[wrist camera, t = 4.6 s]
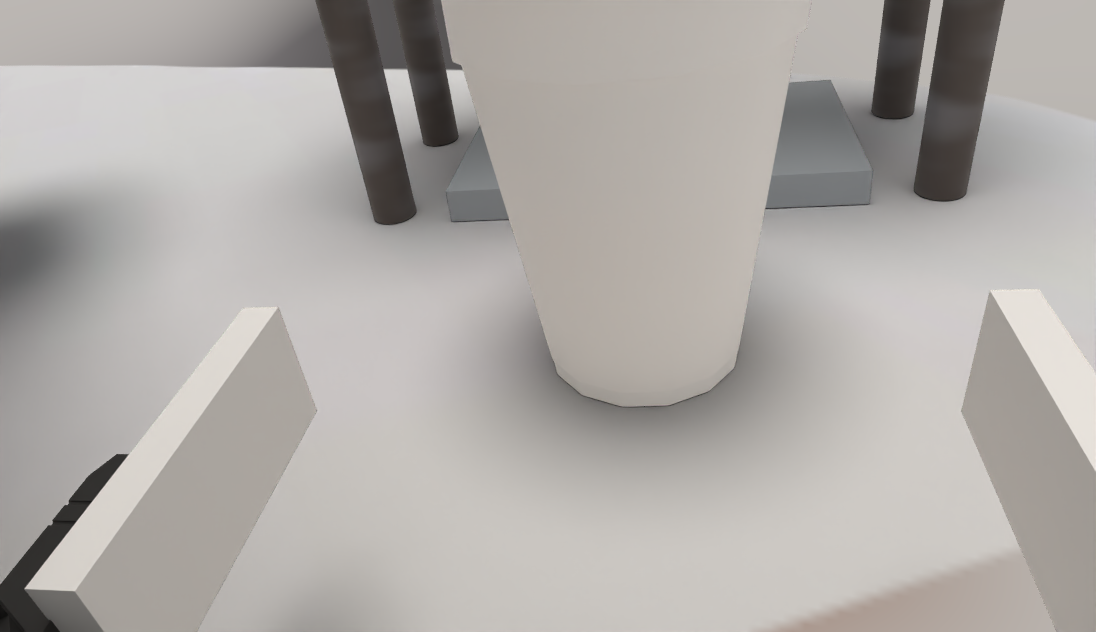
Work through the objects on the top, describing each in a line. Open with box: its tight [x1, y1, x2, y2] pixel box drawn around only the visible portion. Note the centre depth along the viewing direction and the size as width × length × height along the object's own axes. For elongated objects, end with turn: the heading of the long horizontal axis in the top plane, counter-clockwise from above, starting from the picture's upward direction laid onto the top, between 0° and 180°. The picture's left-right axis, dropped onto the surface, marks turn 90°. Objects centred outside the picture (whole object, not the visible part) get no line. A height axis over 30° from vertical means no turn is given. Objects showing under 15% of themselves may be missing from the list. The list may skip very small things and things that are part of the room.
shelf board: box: [446, 80, 873, 221], centre depth 39 cm, size 18×11×2 cm, turn 83°
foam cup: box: [441, 0, 812, 407], centre depth 23 cm, size 10×9×13 cm
